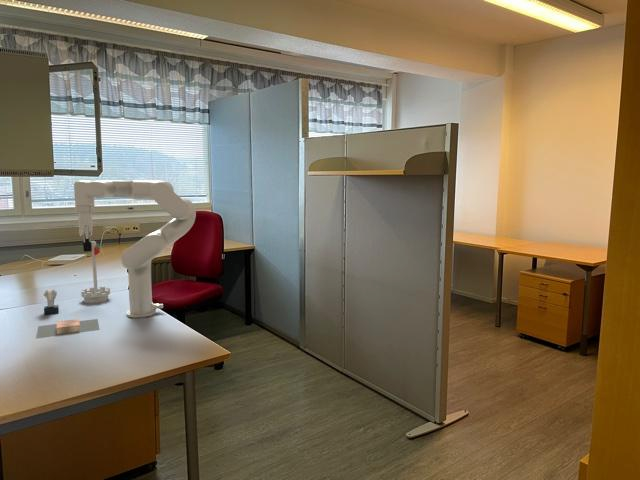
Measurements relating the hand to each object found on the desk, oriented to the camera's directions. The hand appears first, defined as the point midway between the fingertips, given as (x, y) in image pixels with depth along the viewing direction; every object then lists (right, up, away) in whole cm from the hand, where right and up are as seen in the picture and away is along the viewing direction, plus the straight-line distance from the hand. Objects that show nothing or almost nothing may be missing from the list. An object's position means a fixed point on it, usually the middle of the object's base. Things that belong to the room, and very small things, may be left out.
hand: (87, 251), depth 205 cm
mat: (0, -32, -15) cm, 35 cm away
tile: (-1, -29, -13) cm, 32 cm away
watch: (-19, -29, +6) cm, 35 cm away
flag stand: (-10, -26, +29) cm, 40 cm away
